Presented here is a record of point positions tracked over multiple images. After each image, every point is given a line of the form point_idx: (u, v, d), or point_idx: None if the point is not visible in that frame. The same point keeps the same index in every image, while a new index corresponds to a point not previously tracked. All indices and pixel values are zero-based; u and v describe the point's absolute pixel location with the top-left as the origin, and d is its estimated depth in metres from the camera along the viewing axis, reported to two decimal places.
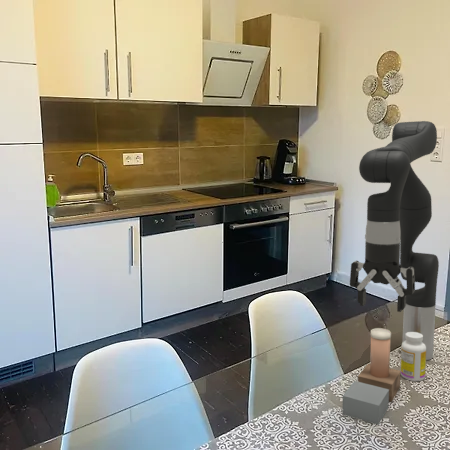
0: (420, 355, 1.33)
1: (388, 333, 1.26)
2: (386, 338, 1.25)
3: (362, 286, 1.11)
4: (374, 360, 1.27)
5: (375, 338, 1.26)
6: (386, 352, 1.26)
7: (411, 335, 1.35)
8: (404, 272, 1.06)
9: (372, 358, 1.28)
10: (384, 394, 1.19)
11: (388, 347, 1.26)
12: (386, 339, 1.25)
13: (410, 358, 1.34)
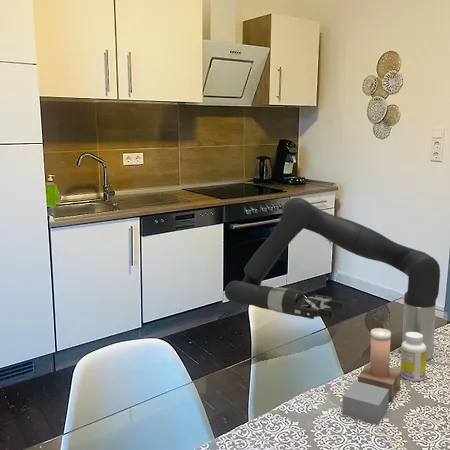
0: (420, 355, 1.33)
1: (388, 333, 1.26)
2: (386, 338, 1.25)
3: None
4: (374, 360, 1.27)
5: (375, 338, 1.26)
6: (386, 352, 1.26)
7: (411, 335, 1.35)
8: None
9: (372, 358, 1.28)
10: (384, 394, 1.19)
11: (388, 347, 1.26)
12: (386, 339, 1.25)
13: (410, 358, 1.34)
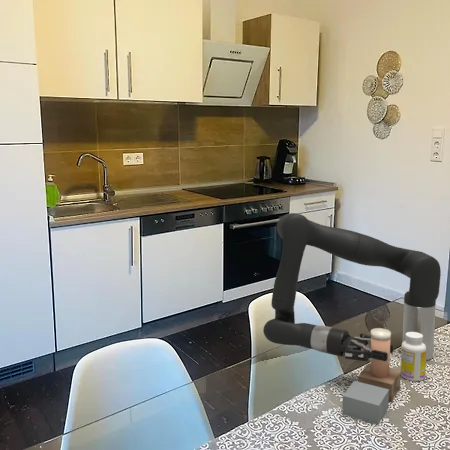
0: (420, 355, 1.33)
1: (388, 333, 1.26)
2: (386, 338, 1.25)
3: None
4: (374, 360, 1.27)
5: (375, 338, 1.26)
6: (386, 352, 1.26)
7: (411, 335, 1.35)
8: None
9: (372, 358, 1.28)
10: (384, 394, 1.19)
11: (388, 347, 1.26)
12: (386, 339, 1.25)
13: (410, 358, 1.34)
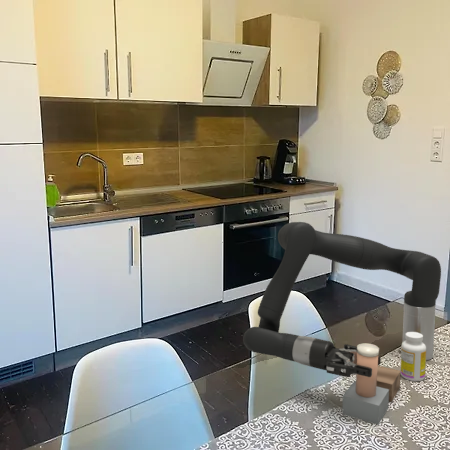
0: (420, 355, 1.33)
1: (376, 349, 1.16)
2: (373, 355, 1.15)
3: None
4: (359, 378, 1.18)
5: (362, 355, 1.16)
6: (373, 370, 1.16)
7: (411, 335, 1.35)
8: None
9: (358, 376, 1.18)
10: (384, 394, 1.19)
11: (375, 365, 1.16)
12: (373, 356, 1.15)
13: (410, 358, 1.34)
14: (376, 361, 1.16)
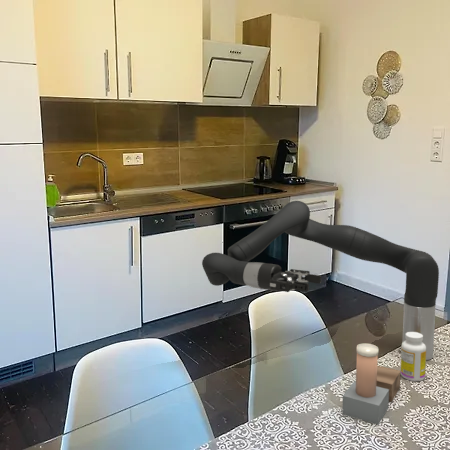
0: (420, 355, 1.33)
1: (375, 349, 1.16)
2: (373, 355, 1.15)
3: None
4: (359, 378, 1.18)
5: (361, 355, 1.16)
6: (372, 370, 1.16)
7: (411, 335, 1.35)
8: None
9: (358, 376, 1.18)
10: (384, 394, 1.19)
11: (375, 365, 1.16)
12: (373, 356, 1.16)
13: (410, 358, 1.34)
14: (375, 361, 1.16)
